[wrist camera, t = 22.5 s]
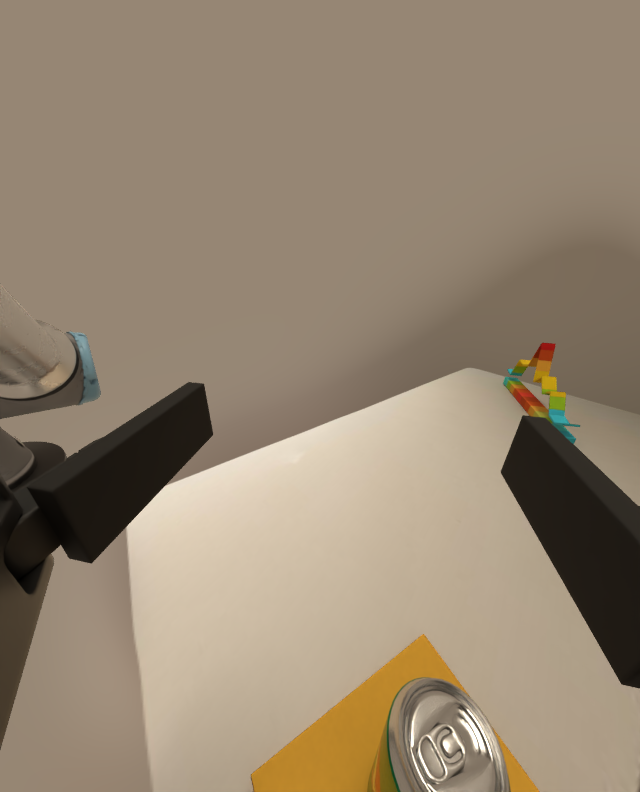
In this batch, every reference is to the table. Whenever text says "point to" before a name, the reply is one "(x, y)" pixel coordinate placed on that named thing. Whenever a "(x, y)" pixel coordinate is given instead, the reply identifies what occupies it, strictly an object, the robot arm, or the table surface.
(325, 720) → the orange flat board
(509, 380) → the chart
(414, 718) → the soda can
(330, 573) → the table surface
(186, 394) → the robot arm
